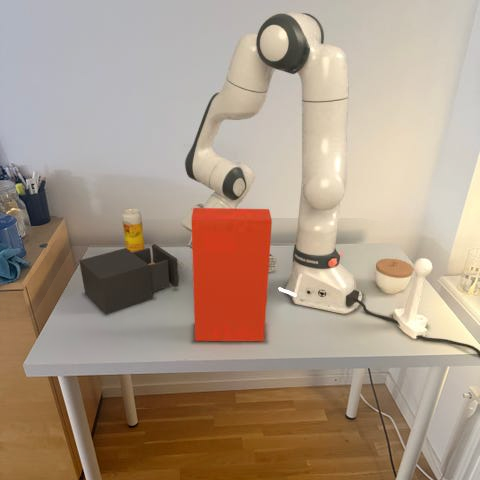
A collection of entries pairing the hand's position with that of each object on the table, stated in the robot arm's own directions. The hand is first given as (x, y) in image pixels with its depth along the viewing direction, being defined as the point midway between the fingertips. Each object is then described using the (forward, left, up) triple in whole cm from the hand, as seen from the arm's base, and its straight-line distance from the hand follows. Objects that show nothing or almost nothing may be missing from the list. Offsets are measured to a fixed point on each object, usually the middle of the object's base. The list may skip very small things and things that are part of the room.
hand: (191, 248), depth 143 cm
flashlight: (-14, -18, -8) cm, 24 cm away
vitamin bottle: (+24, 0, -8) cm, 25 cm away
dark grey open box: (+9, +24, -8) cm, 27 cm away
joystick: (-67, -8, -8) cm, 68 cm away
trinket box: (-56, -25, -8) cm, 62 cm away
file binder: (-28, +22, -8) cm, 37 cm away
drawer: (+4, +13, -7) cm, 15 cm away
